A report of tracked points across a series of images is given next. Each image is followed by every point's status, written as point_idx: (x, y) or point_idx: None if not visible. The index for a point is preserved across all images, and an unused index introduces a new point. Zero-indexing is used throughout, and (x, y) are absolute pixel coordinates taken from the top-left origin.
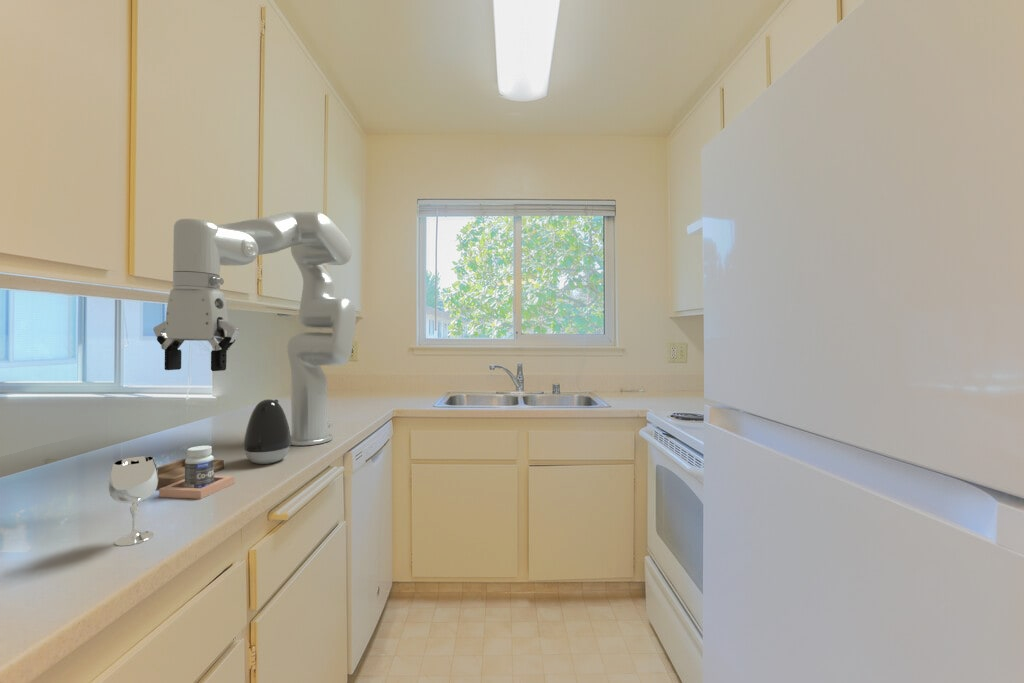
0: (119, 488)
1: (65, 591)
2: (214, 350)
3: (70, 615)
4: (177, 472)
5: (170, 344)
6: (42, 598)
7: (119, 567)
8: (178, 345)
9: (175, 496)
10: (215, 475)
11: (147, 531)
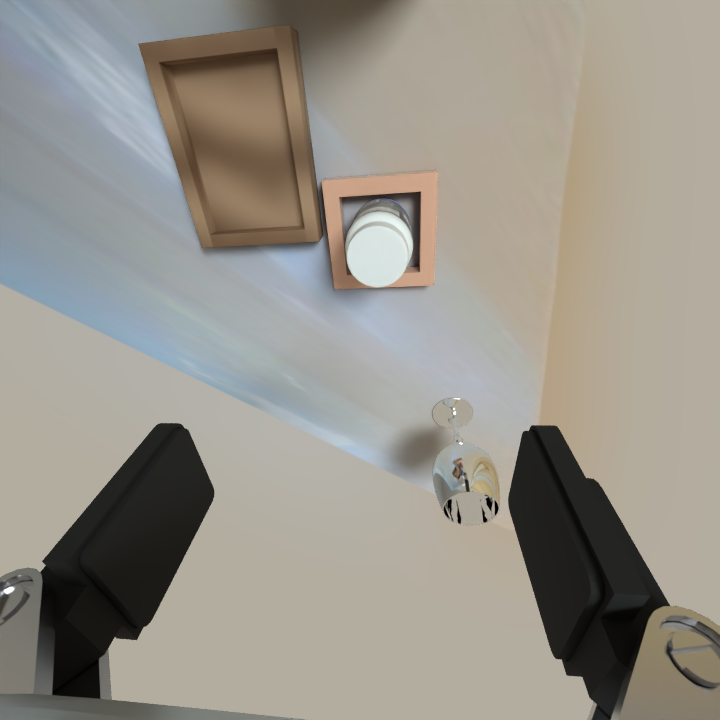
0: (469, 497)
1: None
2: (583, 665)
3: None
4: (223, 138)
5: (105, 693)
6: None
7: (496, 460)
8: (54, 635)
9: None
10: (381, 177)
11: (454, 399)
